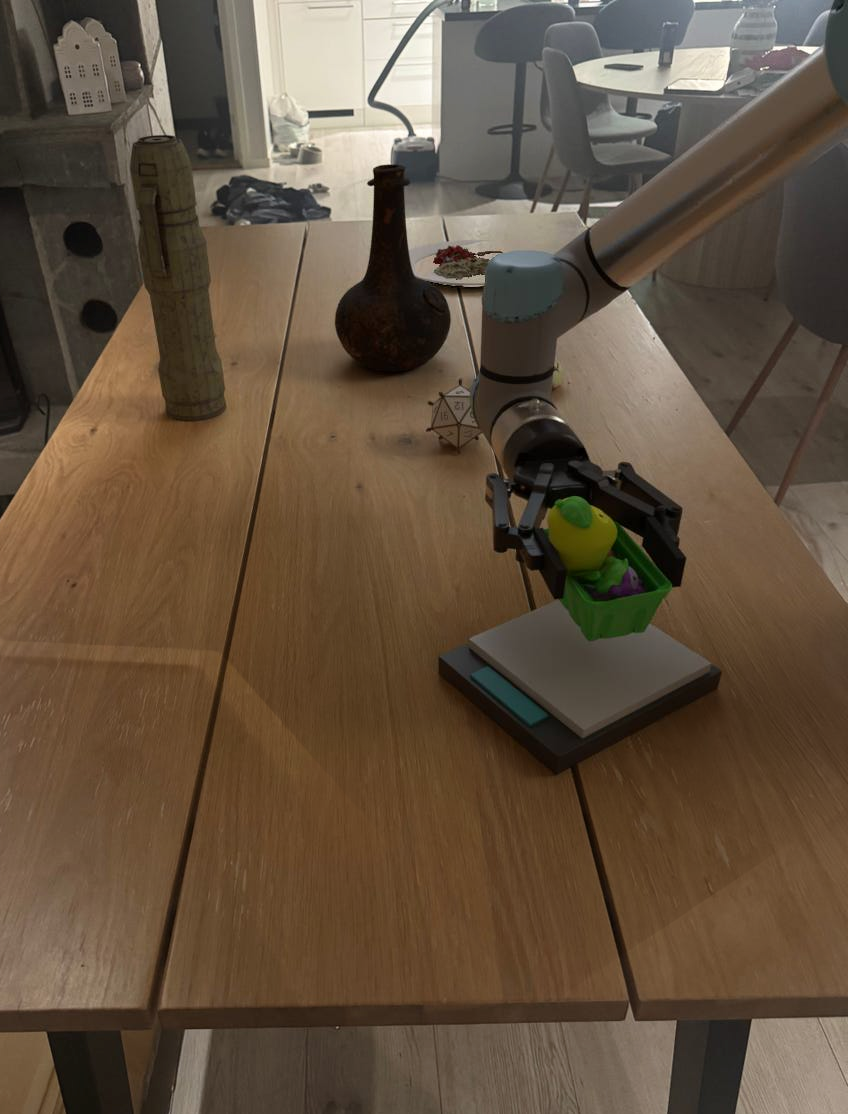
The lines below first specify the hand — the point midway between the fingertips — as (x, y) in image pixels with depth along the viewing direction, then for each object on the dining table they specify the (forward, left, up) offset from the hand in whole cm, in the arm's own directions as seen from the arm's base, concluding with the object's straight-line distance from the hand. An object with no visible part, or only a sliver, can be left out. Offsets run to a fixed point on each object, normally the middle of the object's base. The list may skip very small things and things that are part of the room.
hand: (619, 578), depth 75 cm
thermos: (+81, +1, -14) cm, 82 cm away
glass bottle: (+79, -32, -14) cm, 86 cm away
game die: (+49, -22, -14) cm, 56 cm away
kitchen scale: (+4, -1, -13) cm, 14 cm away
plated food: (+110, -72, -14) cm, 132 cm away
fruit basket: (+4, -2, -6) cm, 8 cm away
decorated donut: (+59, -42, -14) cm, 74 cm away
